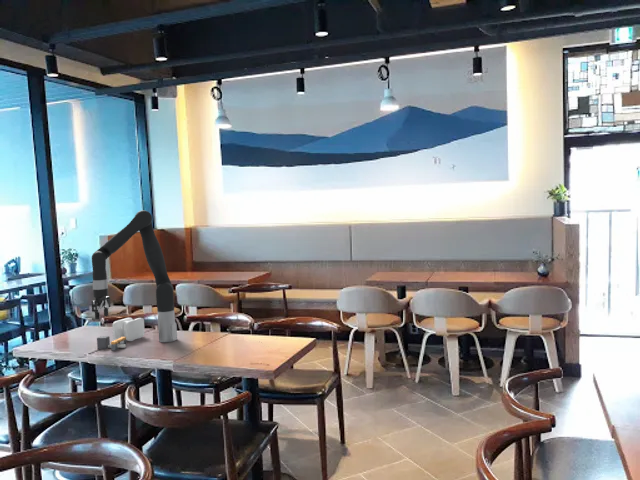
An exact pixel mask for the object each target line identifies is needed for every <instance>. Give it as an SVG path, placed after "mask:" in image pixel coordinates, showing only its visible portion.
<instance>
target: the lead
mask: <svg viewBox="0 0 640 480" xmlns="http://www.w3.org/2000/svg"><path fill="white" fill-rule="evenodd" d="M96 342H97V343H96V345H97V346H96V347H97V350H107V349H111V340H110V335H100V336H98V337H96ZM126 344H127V343H126ZM126 344H120V343H118V349H126V348H127V345H126Z"/></svg>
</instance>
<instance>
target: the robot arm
mask: <svg viewBox="0 0 640 480" xmlns="http://www.w3.org/2000/svg"><path fill="white" fill-rule="evenodd" d="M137 233H140V237H141V241H142V242H141V243H142V248H143V253H144V256H145V259H146V262H147V264H148V266H149V269H150V270H151V272H152V275H153V277H154V280H155V285H156V289H155V300H156V309H157V324H158V325H157V326H158V327H157V330H158V342H159V343H171V342H172V343H173V342H175V341H176V340H178V333H177V332H178V326H177V322H176V318H175V315H176V314H175V302H174V300H175V298H174V287H173V284H172V282H171V280H170V276H169V274H168V271H167V265H166V261H165V257H164V253H163V251H162V248H161V245H160V241H159V240H158V238H157V236H156V233H155V231H154V226H153V216H152V214H151V212H150V211H148V210H144V209H143V210H139V211H138V212H136V213H135V215H134V217H133V218H132V220H131V221H130V222H129V223H128V224H127V225H126V226H124V227H123V228H122V229H121V230H119V231H118V232H117V233H116V234H114V235H113V236H111V238H110V239H109V240H108V241H106V242H105V243H104V244H103V245H102V246H101V247H99V248H98V249H97V250H95V251H94V253H92V255H91V266H92V297H93V298H95V300H91V312H92V313H94V318H95V320H100V310H101V309H102V308H103V316H104V317H108V316H109V310H110V308H111V307H112V305H111V297H110V296H109V285H108V278H107V277H108V276H107V275H108V274H107V268H106V267H107V266H106V265H107V264H106V263H107V259H109V257H110V256H112V255H113V254H115V253H116V252H117V251H119V250H120V249H121V248H122V247H123V246H124V245H125V244H126V243H127V242H128V241H129V240H130V239H132V237H133V236H134V235H135V234H137Z"/></svg>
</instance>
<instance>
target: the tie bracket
mask: <svg viewBox="0 0 640 480" xmlns="http://www.w3.org/2000/svg"><path fill="white" fill-rule="evenodd" d="M110 344H111V348H110V349H111V350H110V351H111V352H112V351H114V352H116V351H117V350H119V348H118V344H126V346H127V340H126V337H121V338H119V339H116V340H114V339H113V340H112V341H110Z"/></svg>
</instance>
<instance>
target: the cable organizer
mask: <svg viewBox="0 0 640 480" xmlns="http://www.w3.org/2000/svg"><path fill="white" fill-rule="evenodd" d="M111 327H112V338H113V339H112V340H113V341H114V340H116V339H119V338H121V337H126V342H133V341H135V340H139V339H142V337H144V336H145V334H146V333H145V320H144V318H142V317H138V318H135V319H133V318H132V317H125V318H122V319H118V320H115V321H113V323H112V325H111Z"/></svg>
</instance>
